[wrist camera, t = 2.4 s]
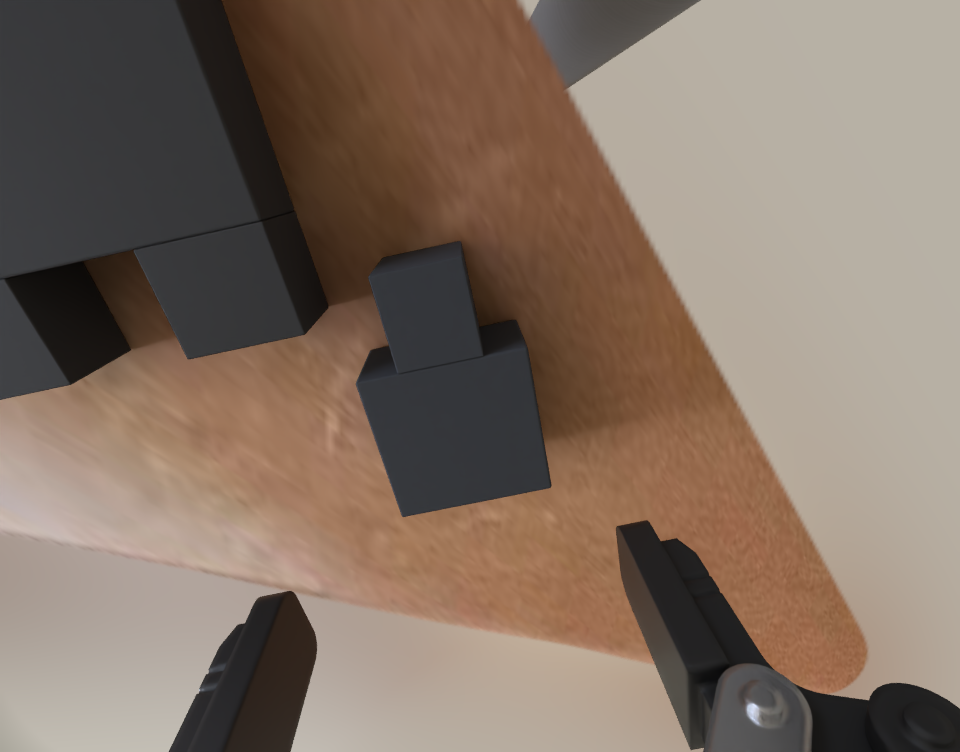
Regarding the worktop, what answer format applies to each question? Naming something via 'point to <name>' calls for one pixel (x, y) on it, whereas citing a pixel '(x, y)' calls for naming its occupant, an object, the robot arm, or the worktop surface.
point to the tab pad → (448, 389)
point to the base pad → (137, 187)
